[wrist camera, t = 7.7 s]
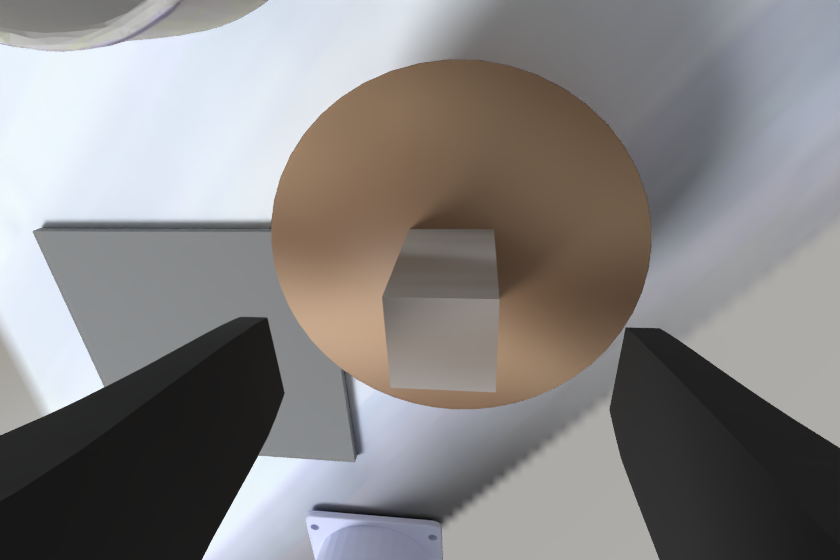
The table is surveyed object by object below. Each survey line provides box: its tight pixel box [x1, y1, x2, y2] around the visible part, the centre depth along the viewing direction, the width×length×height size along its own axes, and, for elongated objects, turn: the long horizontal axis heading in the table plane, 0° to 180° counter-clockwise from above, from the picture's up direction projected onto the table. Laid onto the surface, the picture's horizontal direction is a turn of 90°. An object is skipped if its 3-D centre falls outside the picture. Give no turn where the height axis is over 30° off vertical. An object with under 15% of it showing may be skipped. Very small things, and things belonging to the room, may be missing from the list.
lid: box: [271, 59, 651, 409], centre depth 12 cm, size 11×11×5 cm
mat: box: [33, 228, 357, 462], centre depth 22 cm, size 13×13×1 cm
